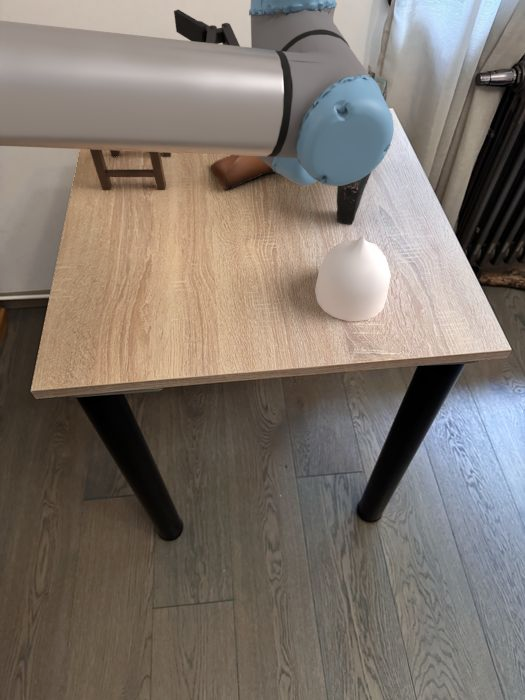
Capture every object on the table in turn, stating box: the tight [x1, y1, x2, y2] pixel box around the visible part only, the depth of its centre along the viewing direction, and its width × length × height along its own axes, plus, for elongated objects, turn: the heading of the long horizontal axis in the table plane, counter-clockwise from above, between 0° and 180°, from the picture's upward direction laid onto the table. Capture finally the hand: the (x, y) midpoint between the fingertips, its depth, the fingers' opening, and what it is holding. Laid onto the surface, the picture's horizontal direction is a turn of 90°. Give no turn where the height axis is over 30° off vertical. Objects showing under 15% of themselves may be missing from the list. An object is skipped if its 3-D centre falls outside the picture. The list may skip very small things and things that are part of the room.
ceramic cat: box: [335, 65, 388, 225], centre depth 84 cm, size 20×6×20 cm, turn 164°
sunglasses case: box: [210, 155, 274, 190], centre depth 95 cm, size 18×7×7 cm
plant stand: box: [89, 149, 172, 191], centre depth 92 cm, size 12×12×10 cm
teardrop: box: [314, 234, 392, 323], centre depth 73 cm, size 11×11×12 cm
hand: (136, 34), depth 70 cm, fingers open, 13 cm apart
